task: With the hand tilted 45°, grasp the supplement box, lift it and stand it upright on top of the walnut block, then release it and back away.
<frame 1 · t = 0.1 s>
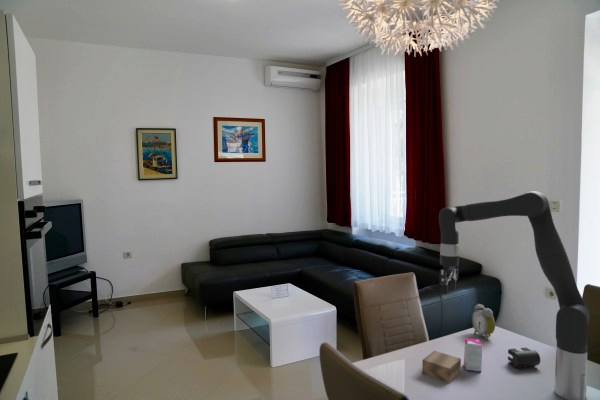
hand: (448, 291, 175), 29 cm above the table, tool pointing down, fingers open, 8 cm apart
supplement box: (472, 369, 167), on the table
alarm clock: (484, 336, 199), on the table
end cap: (523, 366, 169), on the table
walnut block: (441, 373, 163), on the table
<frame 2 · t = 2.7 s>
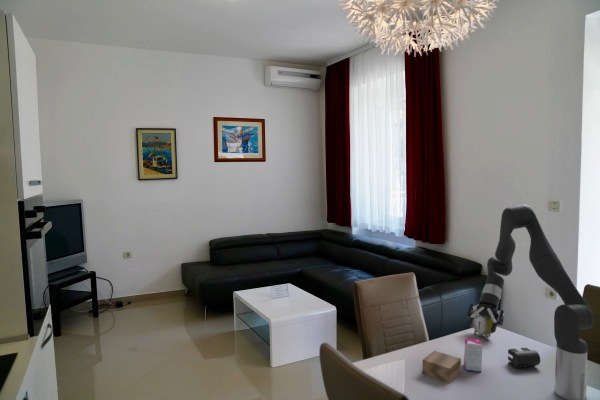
hand: (481, 329, 173), 13 cm above the table, tool tilted 45°, fingers open, 8 cm apart
nothing on the table moved.
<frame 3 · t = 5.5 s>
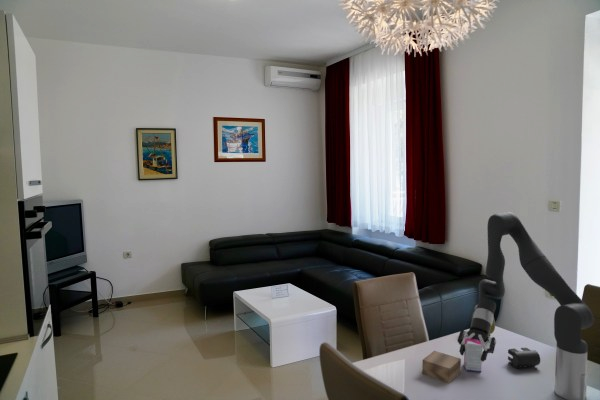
hand: (471, 357, 165), 5 cm above the table, tool tilted 45°, fingers closed on supplement box, 7 cm apart
supplement box: (472, 369, 167), on the table, touching gripper
everything else where it was.
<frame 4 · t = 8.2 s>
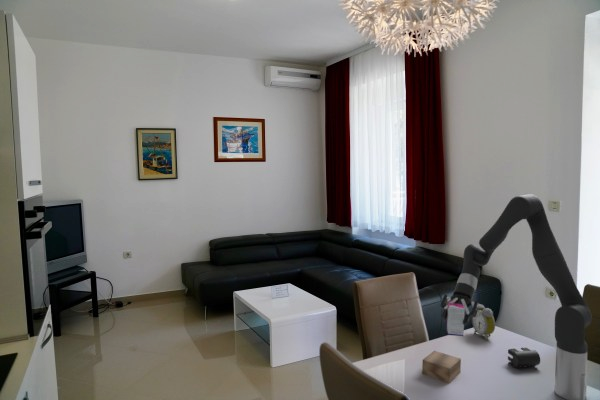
hand: (454, 321, 163), 21 cm above the table, tool tilted 45°, fingers closed on supplement box, 7 cm apart
supplement box: (455, 333, 164), point 15 cm above the table, touching gripper
everything else where it was.
when the fingers open (12 cm above the table, at t = 10.8 s): supplement box drops 2 cm, resting on walnut block.
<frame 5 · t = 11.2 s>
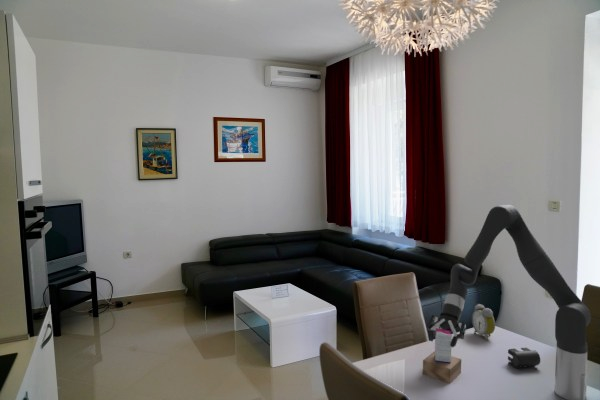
hand: (441, 343, 161), 13 cm above the table, tool tilted 45°, fingers open, 8 cm apart
supplement box: (442, 360, 162), point 5 cm above the table, touching gripper, walnut block
walnut block: (441, 374, 163), on the table, touching supplement box
everything else where it was.
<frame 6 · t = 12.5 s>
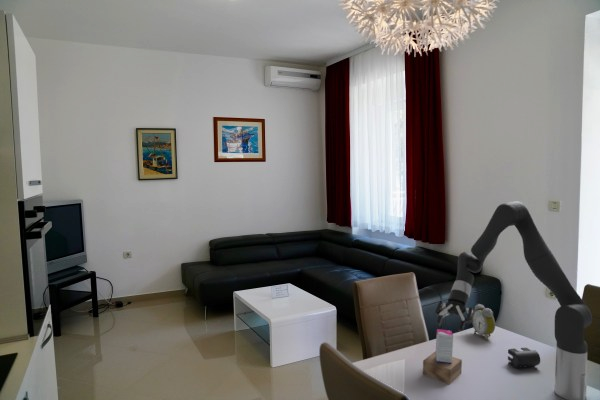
hand: (449, 327, 167), 17 cm above the table, tool tilted 45°, fingers open, 8 cm apart
supplement box: (443, 360, 162), point 6 cm above the table, touching walnut block
everything else where it was.
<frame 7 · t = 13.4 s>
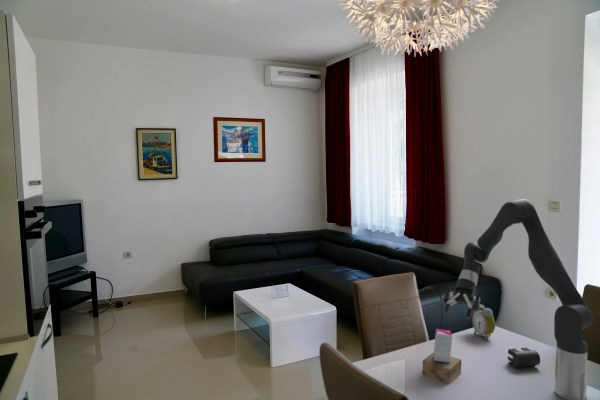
hand: (457, 315, 170), 20 cm above the table, tool tilted 45°, fingers open, 8 cm apart
supplement box: (441, 360, 162), point 6 cm above the table
walnut block: (441, 374, 163), on the table
everything else where it was.
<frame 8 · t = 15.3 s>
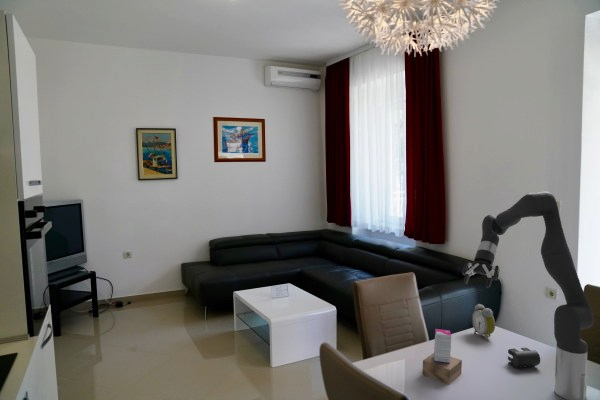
hand: (476, 285, 171), 33 cm above the table, tool tilted 45°, fingers open, 8 cm apart
nothing on the table moved.
at the end: supplement box inside the target area on the walnut block (0.3 cm from its centre), point 5.8 cm above the walnut block's base; supplement box tilted 0°; the gripper is holding nothing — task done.
